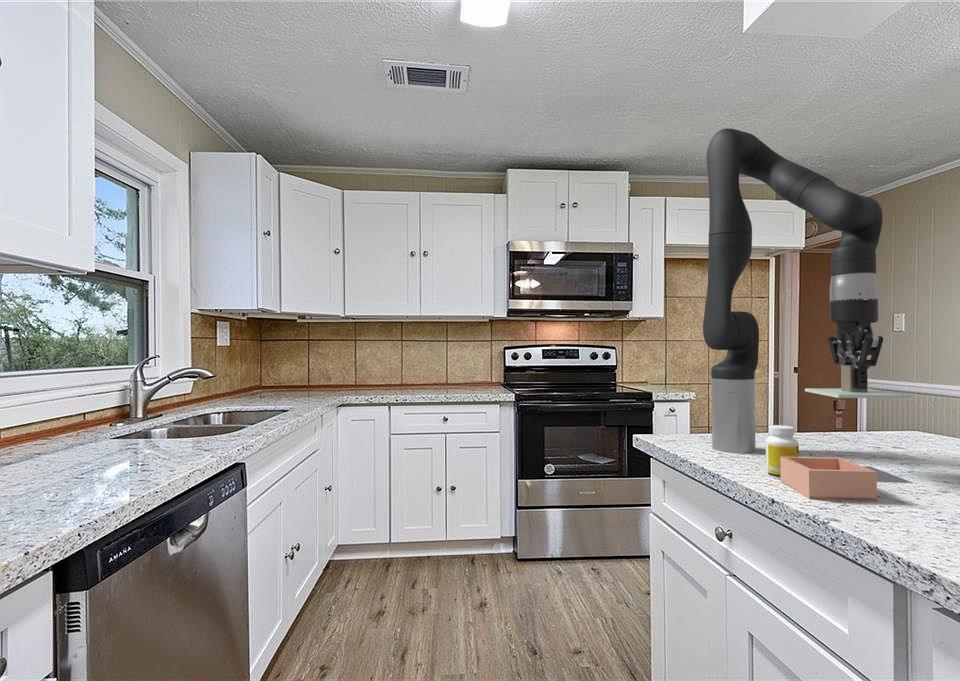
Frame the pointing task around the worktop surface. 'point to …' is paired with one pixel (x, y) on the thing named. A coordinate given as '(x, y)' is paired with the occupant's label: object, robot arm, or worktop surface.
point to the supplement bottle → (779, 448)
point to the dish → (829, 478)
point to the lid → (850, 392)
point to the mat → (887, 476)
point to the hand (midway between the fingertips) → (854, 387)
